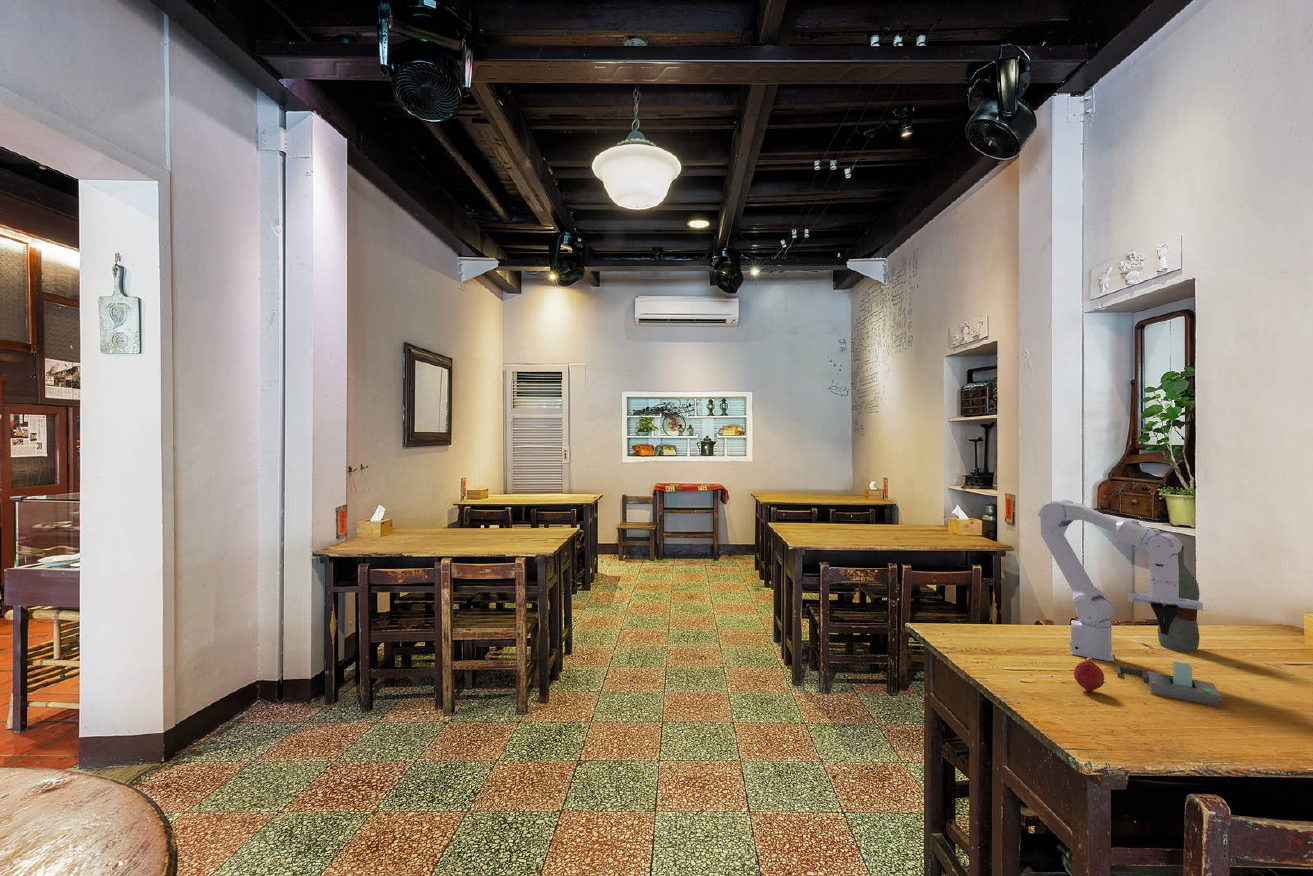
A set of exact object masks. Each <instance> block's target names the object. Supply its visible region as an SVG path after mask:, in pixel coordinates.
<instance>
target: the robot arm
mask: <svg viewBox="0 0 1313 876" xmlns="http://www.w3.org/2000/svg"><path fill="white" fill-rule="evenodd" d="M1037 515H1038V516H1039V519H1040V535H1041V538H1042V539H1043V541H1044V543H1045V545H1046V546H1047V548H1048V550H1049V551H1050V554H1051V555H1052V557H1053V559H1054V561H1055V562H1056V564H1057V566H1058V568H1059V569H1060V571H1061V573H1062V575H1063V577H1064V578H1065V581H1066V582H1067V583H1068V585H1069V587H1070V589H1071V590H1072V592H1073V593H1072V599H1071V600H1072V602H1073V604H1074V608H1075V609H1074V610H1075V615H1076V616H1077V618H1078V619H1079V620H1075V619H1074V620H1073V619H1072V620H1070V621H1071V622H1070V623H1071V624H1070V628H1071V629H1070V634H1071V635H1070V637H1071V638H1070V639H1069V647H1071V648H1070V649H1071V650H1070V654H1071V655H1073V656H1080V657H1085V658H1092V659H1096V660H1101V661H1108V662H1115V658H1114V653H1113V652H1112V649H1113V648H1112V638H1113V637H1112V633H1113V631H1112V630H1113V629H1112V627H1113V626H1112V625H1113V624H1112V622H1111V619H1113V618H1114V617H1115V615H1116V607H1115V605H1114V603H1113V602H1112V601H1110V600H1109V599H1108V598H1107V597H1106V596H1105V595H1104V594H1103V592H1102V591H1101V590H1100V589H1099V588H1097V587H1095V585H1094V584H1093V582H1092V580H1091V578H1090V577H1089V575H1088V574H1087V572H1086V569H1085V568H1084V567H1083V564H1082V563H1081V561H1080V560H1079V558H1078V556H1077V554H1076V552H1075V551H1074V549H1073V548H1072V546H1071V543H1069V541H1068V539H1067V538H1066V536H1065V534H1066V531H1067V529H1068V527H1069V526H1070V525H1071V524H1072V523H1073V522H1074V521H1084V522H1087V523H1090V524H1092V525H1094V526H1098V527H1101V528H1103V529H1106V530H1109V531H1111V532H1113V533H1114V534H1115V536H1116V538H1117V539H1119V540H1121V541H1123V542H1125V543H1128V544H1131V545H1133V546H1136V547H1138V548H1140V549H1143V550H1145V551H1146V552H1147V553H1148V554H1149V561H1148V563H1149V565H1148V567H1149V575H1148V576H1149V594H1148V593H1132V592H1127V602H1128V603H1129V602H1131V603H1134V602H1136V603H1143V604H1149V605H1150V607H1151V609H1152V611H1153V613H1154V615H1155V617H1156V619H1157V622H1158V623H1157V624H1159V626H1160V632H1161V634H1166V635H1168V633H1169V629H1170V626H1171V623H1172V621H1173V619H1174V618H1175V616H1176V615H1177V613H1178V611H1179V609H1178V607H1182V608H1190V609H1197V610H1198V611H1204V610H1203V609H1204V606H1203V605H1204V603H1203V602H1202V601H1200V600H1199V601H1194V600H1188V599H1182V598H1179V565H1178V555H1176V554H1177V553H1179V552H1180V551H1181V549H1182V545H1183V544H1182V542H1181V540H1180V539H1179V538H1178V537H1177V536H1175V535H1174V534H1172V533H1171V532H1162V533H1161V532H1160V529H1157V528H1154V529H1153V528H1150V527H1149V526H1146V525H1143V524H1140V521H1139V520H1136V519H1131V520H1130V519H1125V520H1121V521H1120V520H1118V519H1115V518H1113V517H1111V516H1108V515H1106V514H1104V513H1103V512H1100V511H1098V510H1095V509H1093V508H1090V507H1088V506H1086V505H1083V504H1082V503H1078V502H1073V501H1072V500H1069V499H1063V500H1062V499H1061V500H1049V501H1046V502H1044V503H1043V504H1042V505H1041V507H1040V509H1039V511H1038V514H1037ZM1163 605H1164V606H1163Z"/></svg>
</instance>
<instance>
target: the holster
mask: <svg viewBox="0 0 1313 876" xmlns="http://www.w3.org/2000/svg"><path fill="white" fill-rule="evenodd" d="M1121 673H1125V674H1131V675H1135V676H1136V675H1137V676H1141V677H1142V681H1143V682H1144V683H1147V684H1148V682H1147V674H1146V671H1145V670H1143V669H1139V668H1132V667H1125V666H1120V665H1116V675H1117V678H1121V677H1122V676H1121Z"/></svg>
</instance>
